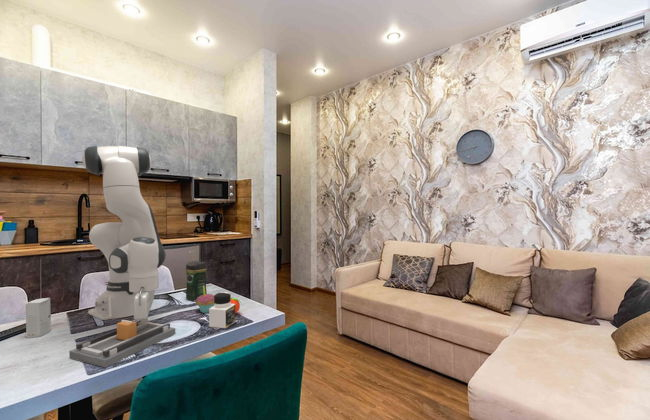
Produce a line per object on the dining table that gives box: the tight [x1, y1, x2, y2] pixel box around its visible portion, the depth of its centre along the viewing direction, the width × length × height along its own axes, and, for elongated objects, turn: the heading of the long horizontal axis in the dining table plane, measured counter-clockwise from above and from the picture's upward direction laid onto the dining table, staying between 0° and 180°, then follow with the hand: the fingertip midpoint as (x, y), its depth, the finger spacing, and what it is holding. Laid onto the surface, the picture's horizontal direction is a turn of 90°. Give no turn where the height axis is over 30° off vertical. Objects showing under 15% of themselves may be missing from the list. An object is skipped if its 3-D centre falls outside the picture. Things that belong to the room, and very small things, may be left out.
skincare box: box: [25, 297, 52, 339], centre depth 107 cm, size 6×4×12 cm
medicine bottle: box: [208, 291, 236, 329], centre depth 115 cm, size 7×7×12 cm
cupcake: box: [195, 285, 215, 314], centre depth 130 cm, size 9×8×12 cm
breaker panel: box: [68, 321, 176, 368], centre depth 98 cm, size 16×24×4 cm, turn 159°
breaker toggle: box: [116, 319, 137, 340], centre depth 98 cm, size 5×3×6 cm, turn 70°
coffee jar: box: [185, 260, 208, 302], centre depth 148 cm, size 10×8×19 cm
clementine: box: [230, 297, 241, 315], centre depth 126 cm, size 8×7×7 cm
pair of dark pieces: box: [75, 319, 171, 356], centre depth 98 cm, size 13×22×1 cm, turn 159°
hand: (144, 323), depth 104 cm, fingers closed
